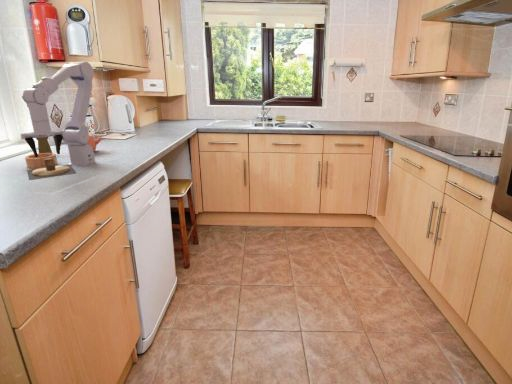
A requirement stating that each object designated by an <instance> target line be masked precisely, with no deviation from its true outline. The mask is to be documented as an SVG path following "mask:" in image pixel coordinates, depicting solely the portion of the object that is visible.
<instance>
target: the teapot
mask: <svg viewBox="0 0 512 384" xmlns="http://www.w3.org/2000/svg"><path fill="white" fill-rule="evenodd" d="M102 140H103V137H101V136H99V137H98V138H97V139H96V140H95V137H94V134H92V133H90V134H89V140H88V142H87V145H90V146H92V148H93V151H94V152H95V151H96V149H97V146H98V144H99V143H100V142H102Z"/></svg>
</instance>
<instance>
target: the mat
mask: <svg viewBox="0 0 512 384" xmlns="http://www.w3.org/2000/svg"><path fill="white" fill-rule="evenodd" d="M62 166H68V167H69V169H70V170H69V171H68V172H65V173H62V174H58V175H52V176H35V175H33V174H32V171H34V170H36V169H37V168H31V169H27V170H26V172H27V176H28V180H29V181H33V180H34V181H35V180H40V179H47V178H54V177H59V176H62V177H63V176H68V175H73V174H74V175H75V174H77V171H76V170H75V169H74V168H73V165H67V164H64V165H62Z"/></svg>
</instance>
